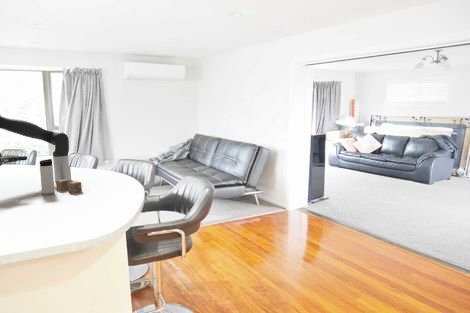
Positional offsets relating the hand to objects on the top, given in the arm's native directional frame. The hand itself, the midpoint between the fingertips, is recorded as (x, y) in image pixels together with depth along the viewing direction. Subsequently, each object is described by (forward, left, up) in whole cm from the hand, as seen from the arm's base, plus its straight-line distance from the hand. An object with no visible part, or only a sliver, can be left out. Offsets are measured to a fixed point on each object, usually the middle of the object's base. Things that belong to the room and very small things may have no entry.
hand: (26, 158), depth 182 cm
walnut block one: (-17, +16, -21) cm, 32 cm away
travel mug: (-7, +6, -22) cm, 23 cm away
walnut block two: (-17, +4, -21) cm, 28 cm away
